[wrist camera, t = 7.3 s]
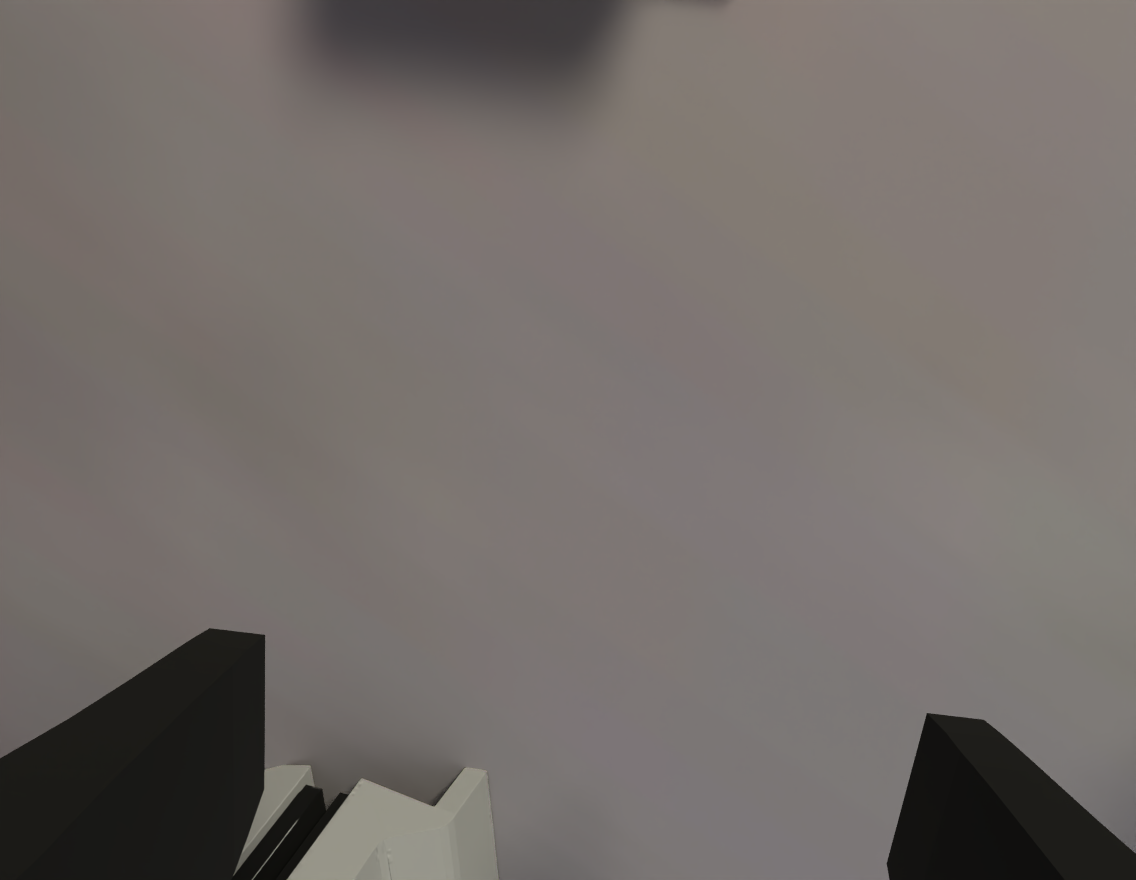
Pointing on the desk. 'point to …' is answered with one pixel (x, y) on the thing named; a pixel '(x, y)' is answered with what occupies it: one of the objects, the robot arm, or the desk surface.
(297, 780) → the grey curved piece
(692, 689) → the desk surface
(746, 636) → the desk surface
